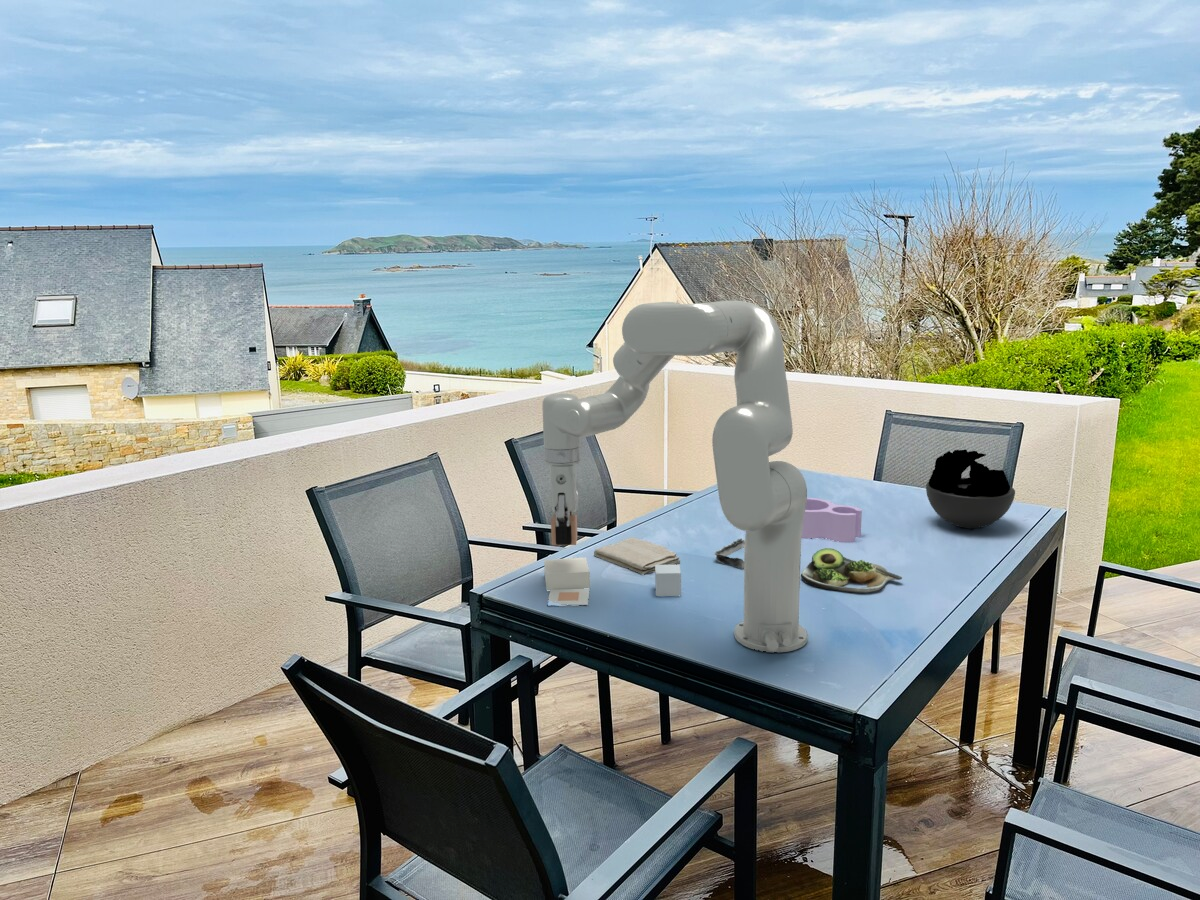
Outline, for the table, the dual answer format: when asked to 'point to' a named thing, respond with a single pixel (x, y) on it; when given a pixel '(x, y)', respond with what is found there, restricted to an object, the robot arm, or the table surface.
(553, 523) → the terracotta block
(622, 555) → the washcloth
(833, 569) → the salad plate
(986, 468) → the coal bowl
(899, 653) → the table surface
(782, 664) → the table surface
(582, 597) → the card
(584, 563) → the base block
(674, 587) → the grey blue block
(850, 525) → the pink desk organizer
